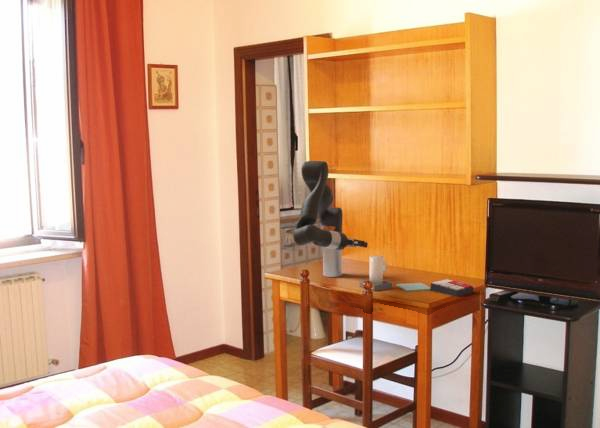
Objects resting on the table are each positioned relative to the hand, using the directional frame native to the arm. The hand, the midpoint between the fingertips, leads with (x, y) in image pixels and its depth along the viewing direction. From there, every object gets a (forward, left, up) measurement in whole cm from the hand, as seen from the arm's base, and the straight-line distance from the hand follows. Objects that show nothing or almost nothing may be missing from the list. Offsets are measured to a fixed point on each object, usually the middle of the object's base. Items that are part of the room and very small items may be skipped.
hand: (359, 244), depth 301 cm
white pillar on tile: (-4, +10, -20) cm, 23 cm away
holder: (-3, +9, -20) cm, 22 cm away
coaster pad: (+2, +25, -20) cm, 32 cm away
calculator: (+13, +38, -21) cm, 45 cm away
